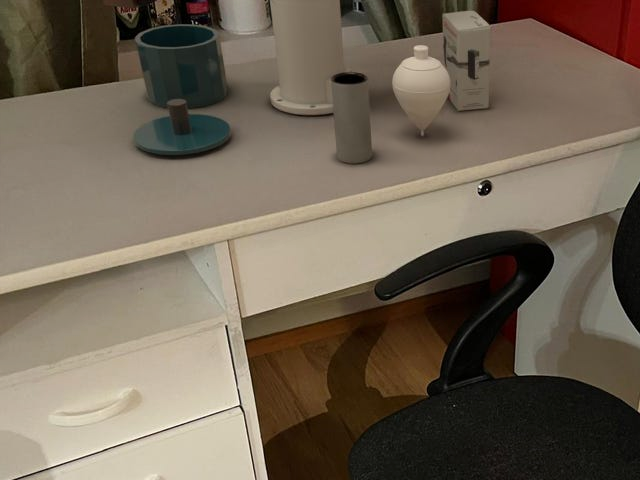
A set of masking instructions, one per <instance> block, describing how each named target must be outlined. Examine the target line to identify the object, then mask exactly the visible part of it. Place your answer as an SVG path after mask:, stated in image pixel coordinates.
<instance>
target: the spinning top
mask: <svg viewBox="0 0 640 480" xmlns="http://www.w3.org/2000/svg"><path fill="white" fill-rule="evenodd" d="M413 55H414V56H410V57H407V58H405V59H404V60H402V61H401V63H400V64H399V65H398V66H397V68H396V69H395V71H394V73H393V75H392V90H393V93H394V95H395V98H396V100H397V101H398V103H399V105H400V107H401V108H402V110H403V111H404V112H405V114H406V115H407V117H408V118H409V119H410V120H411V122H412V123H413V124H414V125H415V126H416V127H417V128H418V129H419V130H420V136H421V137H424V136H425V130H426V129H427V128H428V127H429V125H431V124H432V122H433V121H434V119H436V117H437V115H438V114H439V113H440V111H441V110H442V108H443V107H444V105H445V103H446V101H447V99H448V94H449V92H450V85H451V82H450V77H449V74H448V72H447V70H446V69H445V67H444V66H443V63H441V61H440V60H439V59H437V58H434V57H432V56H429V47H428V46H427V45H423V44H421V45H420V44H419V45H418V44H417V45H415V46H414V47H413Z"/></svg>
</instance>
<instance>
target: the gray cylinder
mask: <svg viewBox="0 0 640 480" xmlns="http://www.w3.org/2000/svg"><path fill="white" fill-rule="evenodd" d="M369 87H370V86H369V77H368V76H367V75H366V74H364V73H361V72H356V71H351V72H344V73H339V74H336V75H334V76H332V78H331V88H332V101H333V113H332V114H333V121H334V122H333V123H334V136H335V147H336V149H335V150H336V158H337V159H338V160H339V161H340V162H342V163H345V164H353V165H354V164H361V163H365V162H368V161H370V160H371V159H372V157H373V147H372V146H373V145H372V126H371V125H372V124H371V108H370V106H371V105H370V89H369Z"/></svg>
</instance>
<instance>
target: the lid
mask: <svg viewBox="0 0 640 480" xmlns="http://www.w3.org/2000/svg"><path fill="white" fill-rule="evenodd" d="M167 105H168V108H167V109H168V115H169V116H162V117H159V118H156V119H153V120H150V121H148V122H146V123H143V124H142V125H140V126H139V127H138V128H136V129H135V130H134V132H133V135H132V139H133V142H134V144H135V145H136V147H137V148H139V149H140V150H142V151H145V152H147V153H150V154H155V155H163V156H180V155H181V156H182V155H191V154H198V153H201V152H206V151H209V150H212V149H214V148H216V147H219V146H221V145H223V144H224V143H226V142H227V141H229V139H230V138H231V136H232V129H231V125H230V124H229V122H227V120H224V119H222V118H220V117H217V116H214V115H208V114H200V113H198V114H197V113H189V108H188V107H187V102H186V100H184V99H173V100H170V101H168V102H167Z"/></svg>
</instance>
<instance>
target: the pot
mask: <svg viewBox="0 0 640 480" xmlns="http://www.w3.org/2000/svg"><path fill="white" fill-rule="evenodd" d="M134 41H135V45H136V50H137V51H136V52H137V55H138V60H139V64H140V69H141V73H142V78H143V83H144V84H143V85H144V87H145V92H146V97H147V100H148V101H149V102H150V103H151V104H152V105H155V106H158V107H159V108H167V109H168V105H167V102H168V101H170V100H173V99H184V100H186V102H187V107H188V109H194V108H202V107H207V106H209V105H213V104H216V103H218V102H220V101H222V100H223V99H224V98H226V96H227V95H228V82H227V76H226V75H227V74H226V70H225V68H226V67H225V63H224V56H223V50H222V43H221V36H220V34H219V32H218V30H217V29H214V28H212V27H210V26H206V25H200V24H189V23H188V24H183V23H182V24H181V23H178V24H168V25H160V26H157V27H152V28H149V29H148V28H147V29H145V30H144V31H141V32H139V33H138V34H137V35H136V36H135V37H134Z"/></svg>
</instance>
